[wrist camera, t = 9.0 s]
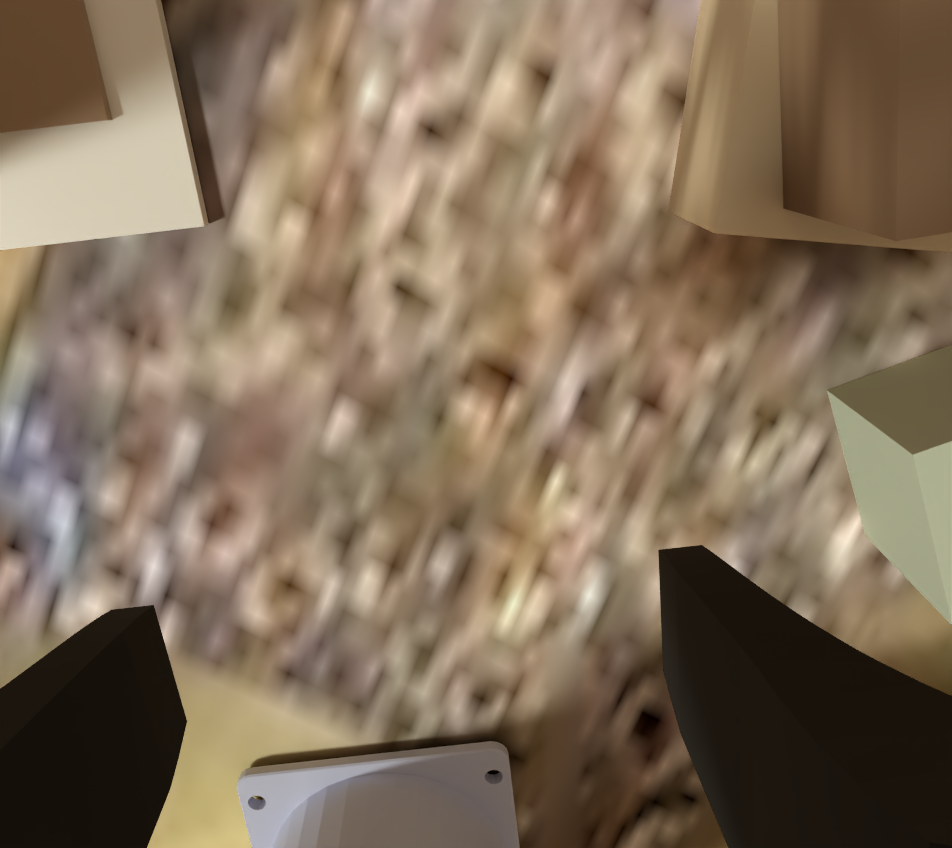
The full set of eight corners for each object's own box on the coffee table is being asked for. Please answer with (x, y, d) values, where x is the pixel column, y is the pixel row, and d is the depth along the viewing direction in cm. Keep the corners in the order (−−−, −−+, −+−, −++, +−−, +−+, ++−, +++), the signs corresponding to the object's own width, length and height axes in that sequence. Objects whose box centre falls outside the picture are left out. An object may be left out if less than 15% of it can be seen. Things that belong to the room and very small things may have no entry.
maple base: (909, 230, 21) (1007, 257, 17) (666, 210, 21) (714, 233, 17) (977, -45, 19) (1105, -83, 15) (709, -72, 19) (774, -117, 15)
